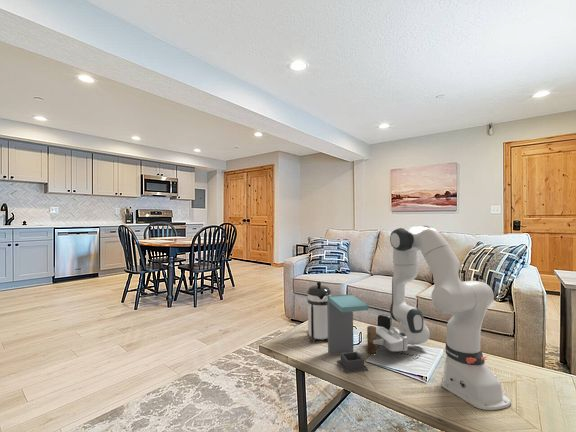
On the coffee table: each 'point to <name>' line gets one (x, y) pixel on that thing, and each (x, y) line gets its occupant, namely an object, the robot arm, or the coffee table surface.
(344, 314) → the teal capped pillar
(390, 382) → the coffee table surface
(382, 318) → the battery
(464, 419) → the coffee table surface
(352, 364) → the socket
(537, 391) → the coffee table surface
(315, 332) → the coffee press
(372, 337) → the peg
